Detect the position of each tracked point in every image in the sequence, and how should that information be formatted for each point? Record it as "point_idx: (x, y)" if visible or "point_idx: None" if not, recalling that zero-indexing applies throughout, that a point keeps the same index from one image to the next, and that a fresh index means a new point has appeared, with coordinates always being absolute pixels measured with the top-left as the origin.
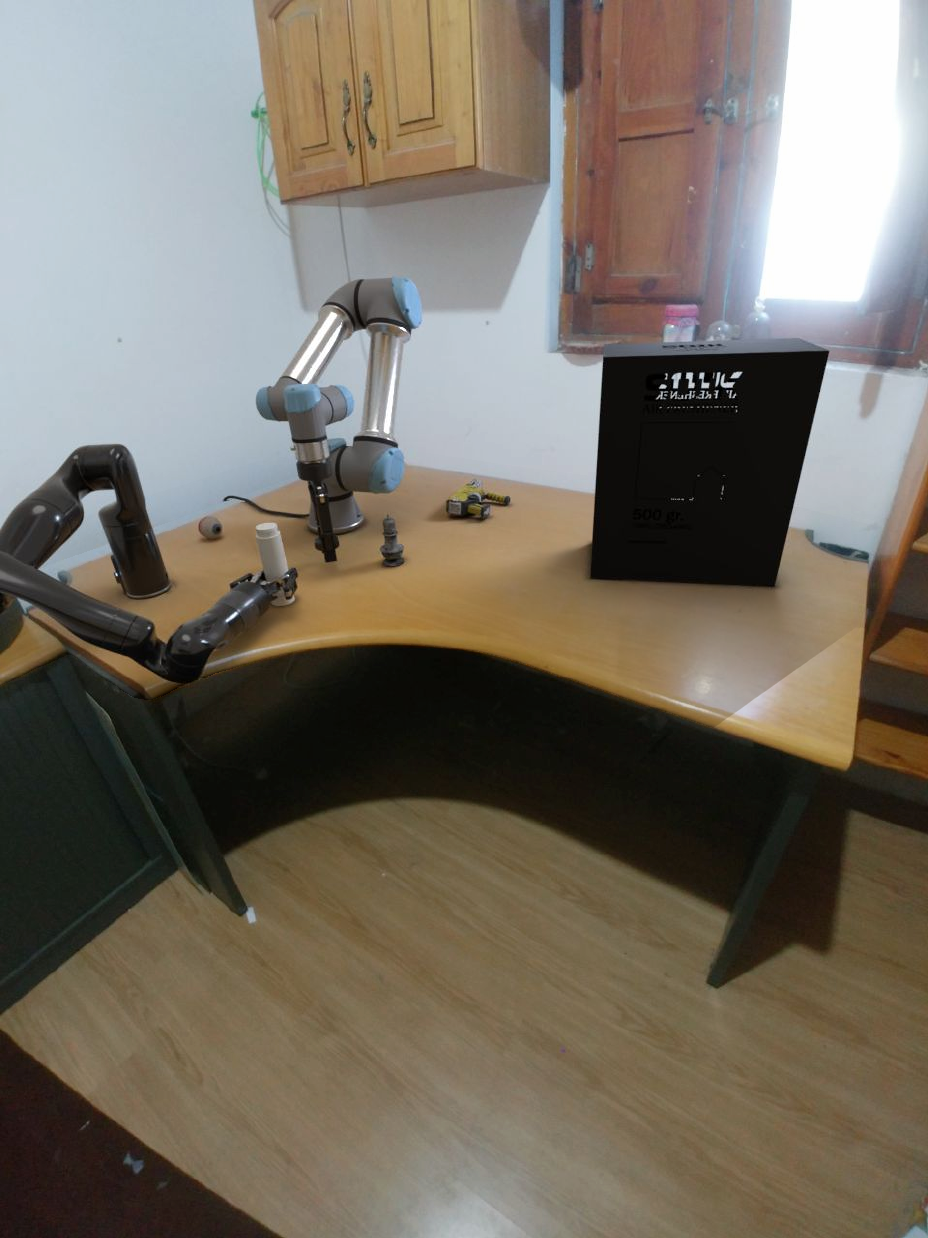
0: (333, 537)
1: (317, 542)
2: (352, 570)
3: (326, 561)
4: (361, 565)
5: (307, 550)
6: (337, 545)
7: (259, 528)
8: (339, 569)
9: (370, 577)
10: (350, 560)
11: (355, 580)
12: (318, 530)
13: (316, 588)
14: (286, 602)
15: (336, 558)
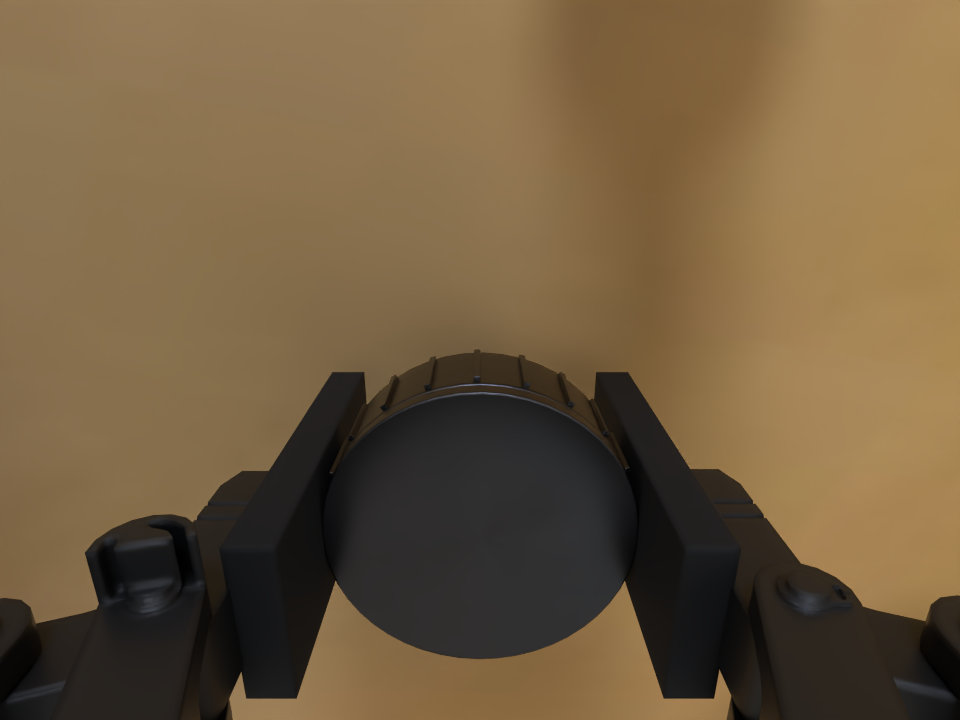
0: (460, 448)
1: (548, 636)
2: (644, 223)
3: None
4: (578, 119)
5: (63, 506)
6: (572, 391)
7: None
8: (565, 325)
9: (887, 90)
10: (414, 201)
11: (857, 235)
12: (309, 658)
13: (802, 518)
14: None
15: (632, 384)
